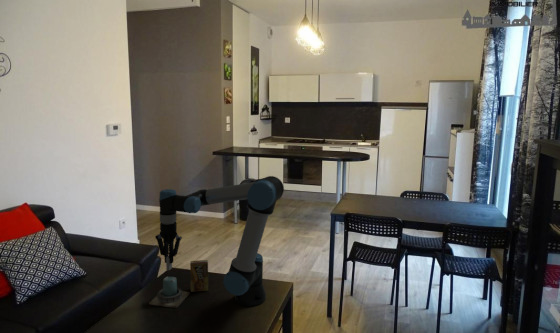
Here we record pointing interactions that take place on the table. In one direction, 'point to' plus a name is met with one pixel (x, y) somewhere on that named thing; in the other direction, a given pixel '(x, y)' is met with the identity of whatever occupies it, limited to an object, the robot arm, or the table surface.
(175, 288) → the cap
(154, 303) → the square base with ring
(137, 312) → the table surface
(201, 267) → the candy box
